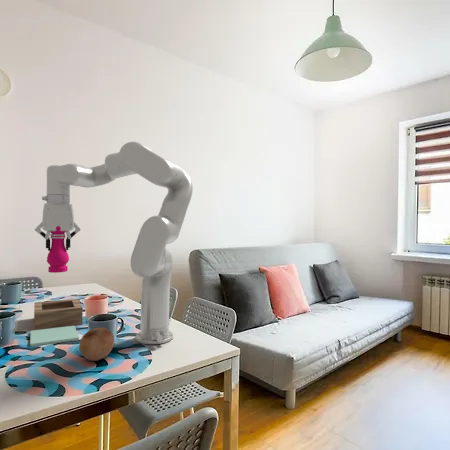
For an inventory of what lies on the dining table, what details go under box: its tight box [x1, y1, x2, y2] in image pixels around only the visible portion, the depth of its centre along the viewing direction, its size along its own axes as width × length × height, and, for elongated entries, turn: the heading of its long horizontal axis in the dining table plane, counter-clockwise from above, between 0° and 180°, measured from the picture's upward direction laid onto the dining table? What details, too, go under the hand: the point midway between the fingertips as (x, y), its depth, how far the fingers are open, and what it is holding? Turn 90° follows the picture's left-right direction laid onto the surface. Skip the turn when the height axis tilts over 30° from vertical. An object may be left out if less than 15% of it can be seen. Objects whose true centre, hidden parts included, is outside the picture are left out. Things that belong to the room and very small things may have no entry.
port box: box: [33, 298, 84, 330], centre depth 131 cm, size 16×16×6 cm
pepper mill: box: [46, 226, 70, 274], centre depth 123 cm, size 7×7×20 cm
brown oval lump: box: [78, 326, 115, 362], centre depth 98 cm, size 10×9×10 cm
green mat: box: [29, 325, 80, 348], centre depth 115 cm, size 14×14×1 cm
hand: (58, 249), depth 123 cm, fingers closed on pepper mill, 5 cm apart
